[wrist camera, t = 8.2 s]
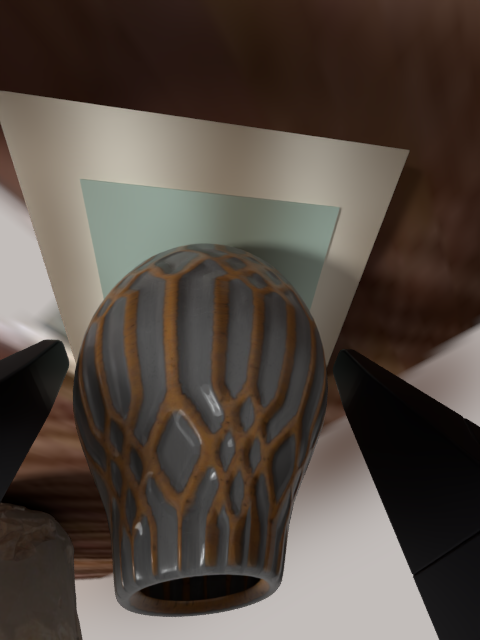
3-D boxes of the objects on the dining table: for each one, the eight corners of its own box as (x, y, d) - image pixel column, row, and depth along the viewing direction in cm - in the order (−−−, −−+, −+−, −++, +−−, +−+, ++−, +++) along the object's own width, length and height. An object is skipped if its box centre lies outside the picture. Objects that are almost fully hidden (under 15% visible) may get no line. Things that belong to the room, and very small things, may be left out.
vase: (315, 312, 12) (490, 571, 4) (205, 384, 14) (194, 651, 6) (218, 179, 8) (244, 294, 1) (91, 298, 10) (-215, 636, 3)
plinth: (107, 365, 16) (86, 404, 14) (49, 108, 10) (-16, 87, 7) (299, 369, 18) (313, 405, 15) (365, 152, 11) (413, 150, 8)
